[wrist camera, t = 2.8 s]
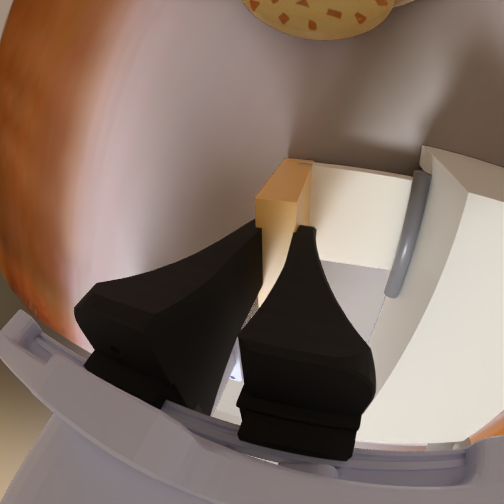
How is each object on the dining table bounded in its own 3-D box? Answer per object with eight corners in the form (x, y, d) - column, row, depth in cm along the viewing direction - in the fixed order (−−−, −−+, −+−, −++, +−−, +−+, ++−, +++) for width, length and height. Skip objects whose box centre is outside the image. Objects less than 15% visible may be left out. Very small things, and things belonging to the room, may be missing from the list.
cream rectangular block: (344, 375, 22) (333, 438, 17) (406, 141, 11) (445, 186, 6) (459, 384, 19) (462, 441, 14) (564, 193, 8) (618, 249, 3)
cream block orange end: (283, 244, 16) (258, 306, 12) (285, 158, 13) (254, 198, 9) (506, 279, 12) (532, 339, 8) (534, 207, 9) (578, 259, 5)
